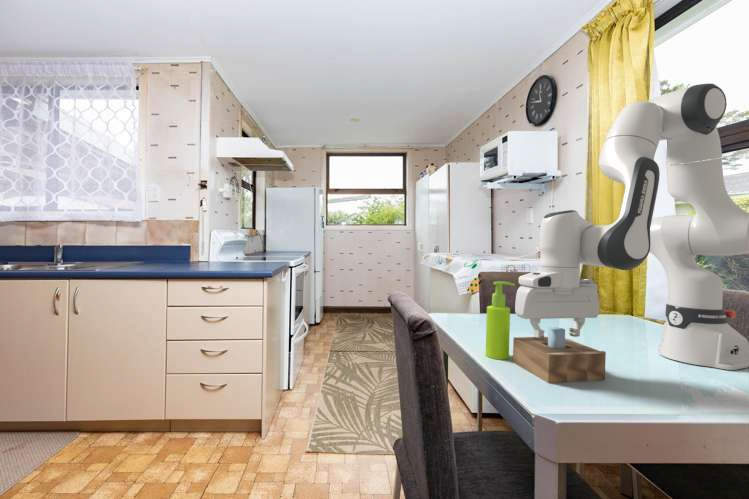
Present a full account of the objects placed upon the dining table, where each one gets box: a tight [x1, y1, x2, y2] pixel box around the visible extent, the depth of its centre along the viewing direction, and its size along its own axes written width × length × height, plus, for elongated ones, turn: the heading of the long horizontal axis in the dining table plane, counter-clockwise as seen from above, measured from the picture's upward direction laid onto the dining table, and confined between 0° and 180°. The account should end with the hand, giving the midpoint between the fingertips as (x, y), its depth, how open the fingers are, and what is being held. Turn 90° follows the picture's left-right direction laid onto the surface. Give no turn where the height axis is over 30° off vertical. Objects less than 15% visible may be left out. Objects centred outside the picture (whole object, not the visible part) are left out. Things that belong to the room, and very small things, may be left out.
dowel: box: [547, 326, 566, 349], centre depth 87 cm, size 4×4×10 cm
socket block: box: [512, 336, 607, 384], centre depth 87 cm, size 14×14×6 cm
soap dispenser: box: [485, 280, 516, 361], centre depth 97 cm, size 6×7×20 cm
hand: (556, 336), depth 87 cm, fingers open, 8 cm apart
